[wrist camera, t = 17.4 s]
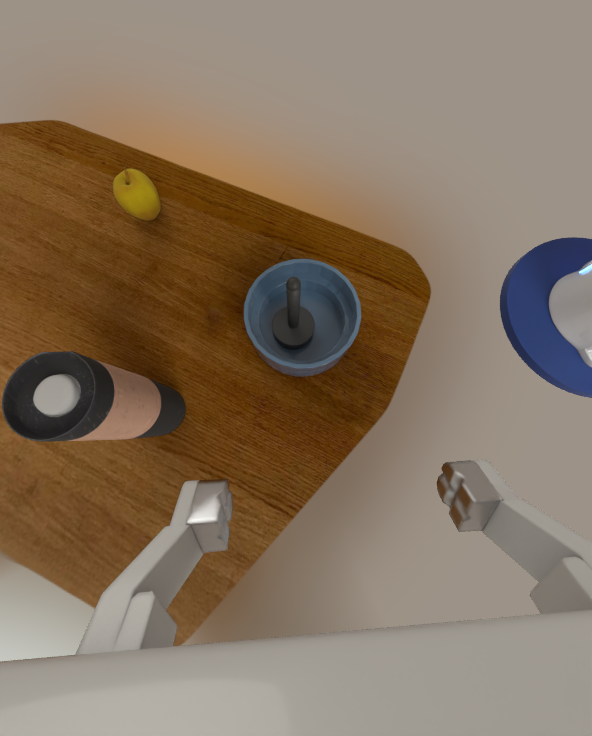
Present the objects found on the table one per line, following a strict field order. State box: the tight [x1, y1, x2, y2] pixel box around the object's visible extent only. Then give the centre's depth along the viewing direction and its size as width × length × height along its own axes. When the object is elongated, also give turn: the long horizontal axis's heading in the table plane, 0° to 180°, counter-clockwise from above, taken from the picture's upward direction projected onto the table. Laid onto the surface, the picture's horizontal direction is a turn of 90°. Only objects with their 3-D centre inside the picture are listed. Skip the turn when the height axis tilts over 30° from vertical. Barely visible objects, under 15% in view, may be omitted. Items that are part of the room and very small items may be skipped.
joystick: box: [272, 277, 315, 350], centre depth 37 cm, size 6×6×15 cm
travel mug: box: [2, 351, 185, 441], centre depth 32 cm, size 8×8×20 cm
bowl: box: [244, 259, 361, 376], centre depth 42 cm, size 16×16×6 cm
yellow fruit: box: [113, 166, 161, 221], centre depth 46 cm, size 6×6×8 cm
